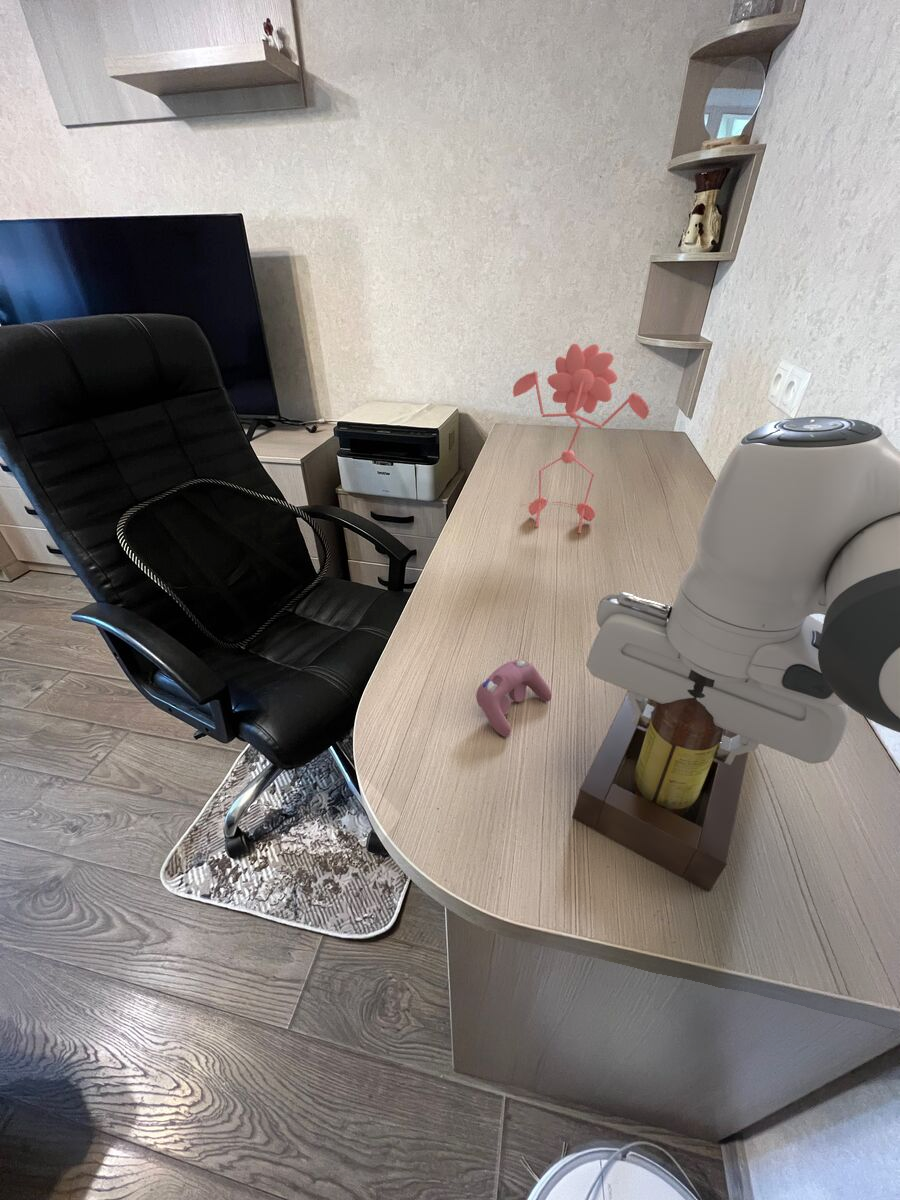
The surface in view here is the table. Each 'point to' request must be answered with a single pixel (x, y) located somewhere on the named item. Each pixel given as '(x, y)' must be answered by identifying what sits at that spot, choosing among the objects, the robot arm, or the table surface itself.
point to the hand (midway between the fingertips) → (680, 739)
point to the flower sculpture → (578, 403)
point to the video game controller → (509, 691)
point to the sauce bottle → (677, 751)
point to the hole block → (652, 827)
